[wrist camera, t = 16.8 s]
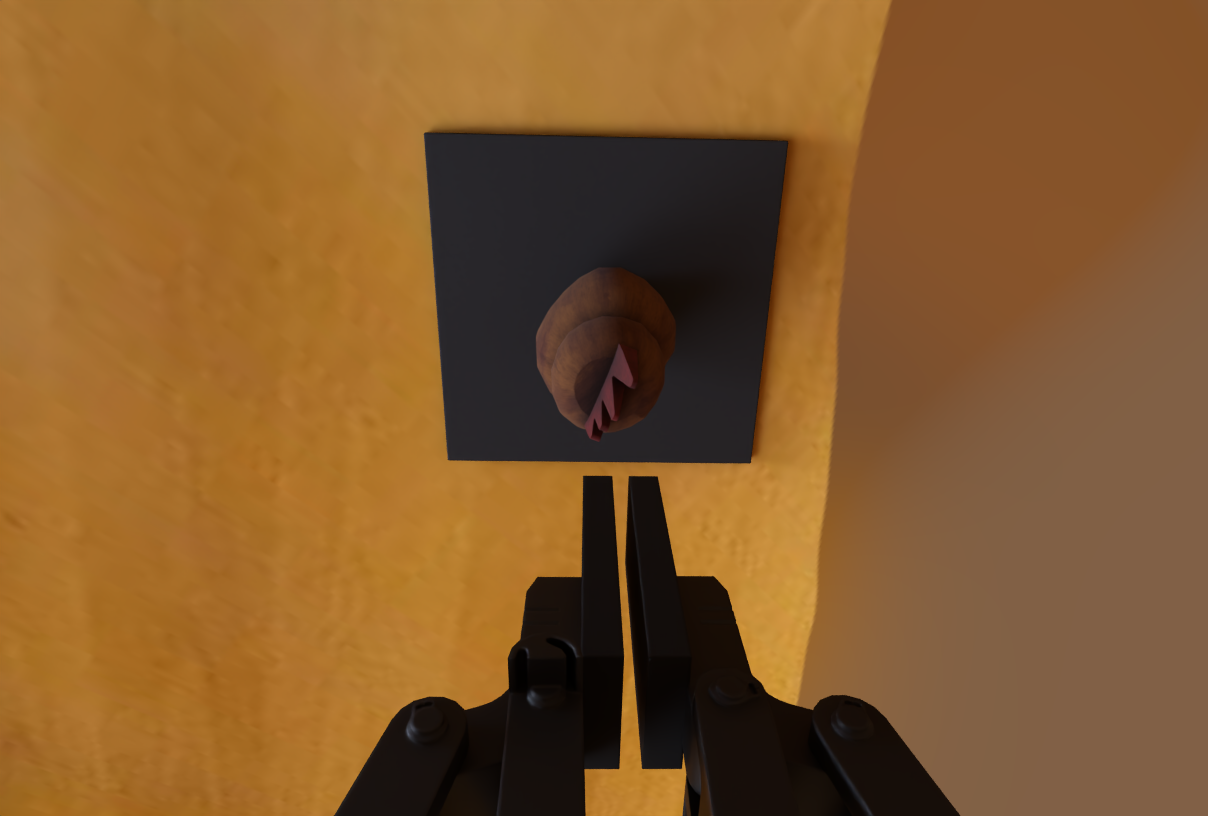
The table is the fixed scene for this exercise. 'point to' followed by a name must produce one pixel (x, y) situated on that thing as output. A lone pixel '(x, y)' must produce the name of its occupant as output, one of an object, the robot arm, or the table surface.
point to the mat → (582, 244)
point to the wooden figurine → (606, 350)
